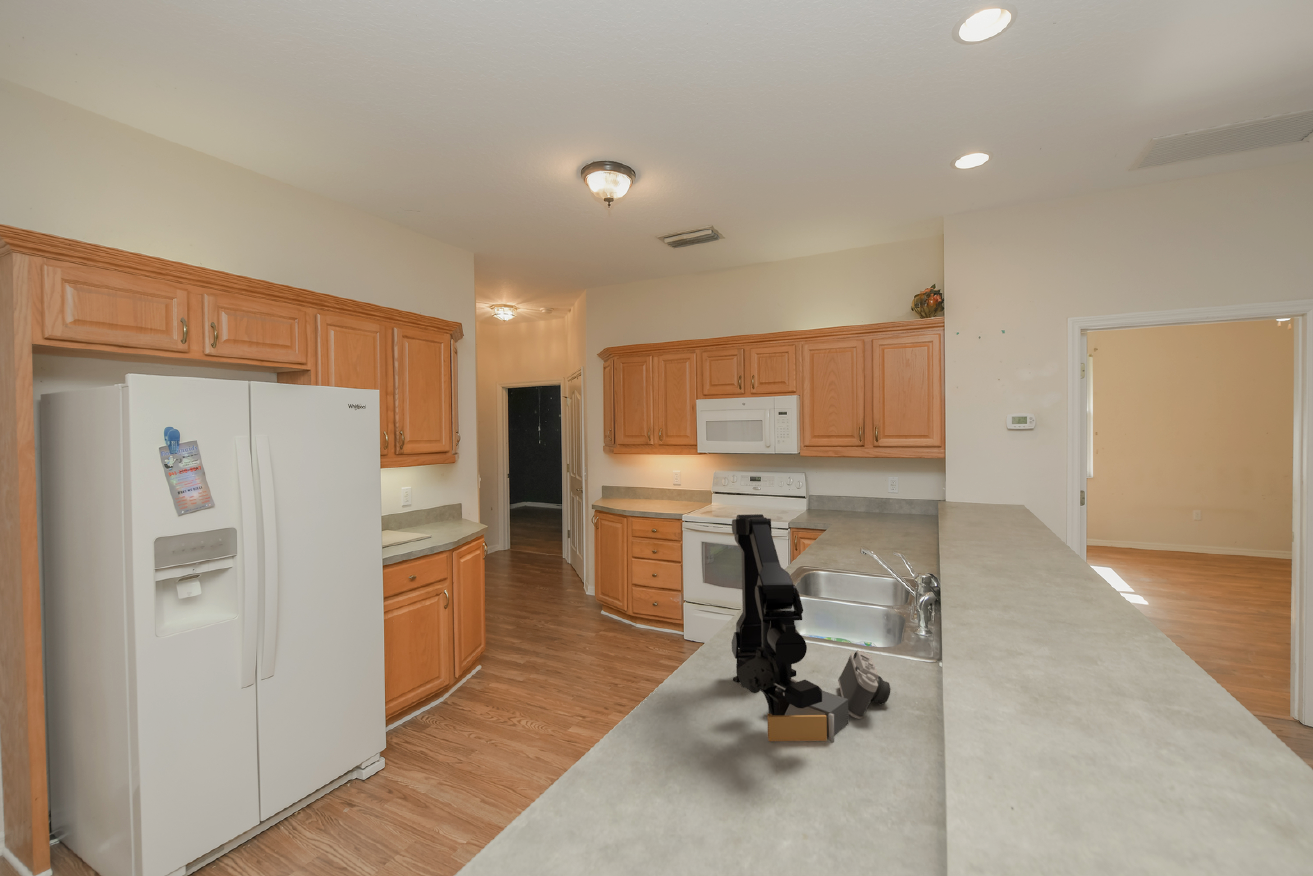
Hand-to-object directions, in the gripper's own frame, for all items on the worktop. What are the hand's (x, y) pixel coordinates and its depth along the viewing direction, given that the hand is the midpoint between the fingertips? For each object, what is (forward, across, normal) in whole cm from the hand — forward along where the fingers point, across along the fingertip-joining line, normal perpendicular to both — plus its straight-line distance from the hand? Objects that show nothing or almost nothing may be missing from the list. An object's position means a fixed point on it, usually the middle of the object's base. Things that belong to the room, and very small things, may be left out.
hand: (777, 723), depth 110 cm
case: (+2, -1, +9) cm, 10 cm away
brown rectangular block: (+2, +4, +2) cm, 4 cm away
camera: (+2, +1, +25) cm, 25 cm away
